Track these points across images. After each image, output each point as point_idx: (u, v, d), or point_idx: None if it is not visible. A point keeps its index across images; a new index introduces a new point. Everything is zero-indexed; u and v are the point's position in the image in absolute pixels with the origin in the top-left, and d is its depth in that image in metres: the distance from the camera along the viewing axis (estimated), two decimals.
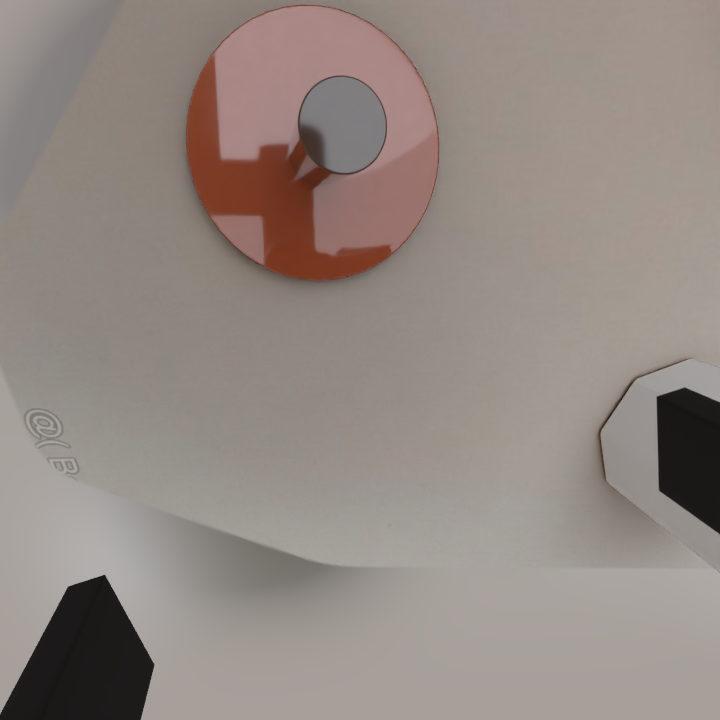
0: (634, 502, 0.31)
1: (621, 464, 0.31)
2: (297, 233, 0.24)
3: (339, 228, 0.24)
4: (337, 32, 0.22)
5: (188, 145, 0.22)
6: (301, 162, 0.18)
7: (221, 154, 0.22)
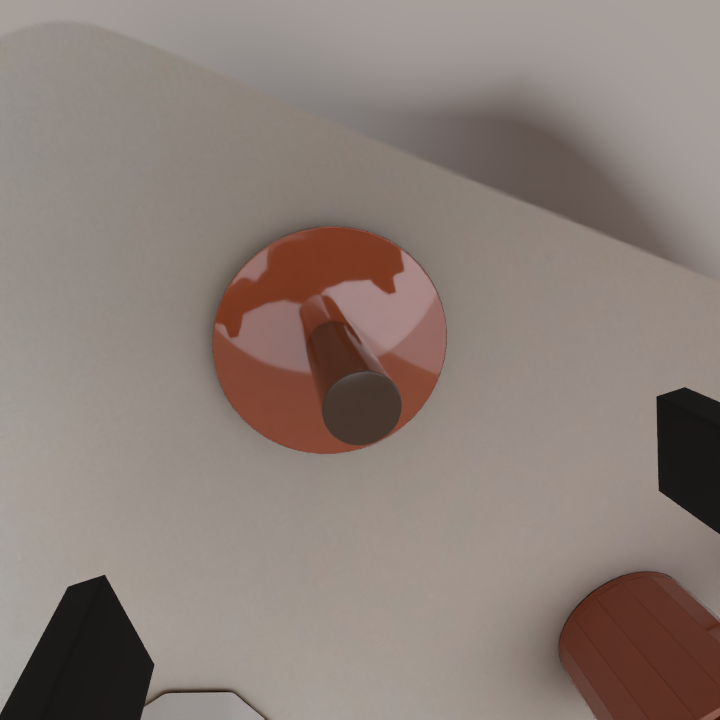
0: None
1: None
2: (257, 350, 0.24)
3: (276, 386, 0.25)
4: (430, 335, 0.25)
5: (303, 232, 0.23)
6: (322, 362, 0.19)
7: (305, 263, 0.23)
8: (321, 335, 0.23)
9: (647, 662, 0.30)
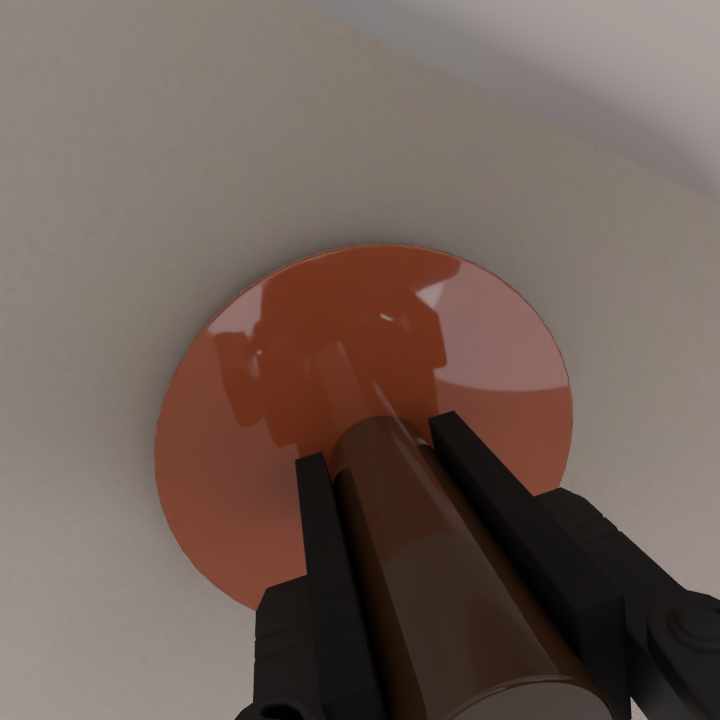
0: None
1: None
2: (240, 471, 0.13)
3: (274, 529, 0.14)
4: (545, 432, 0.14)
5: (326, 255, 0.12)
6: (380, 562, 0.08)
7: (330, 315, 0.12)
8: (362, 457, 0.12)
9: None
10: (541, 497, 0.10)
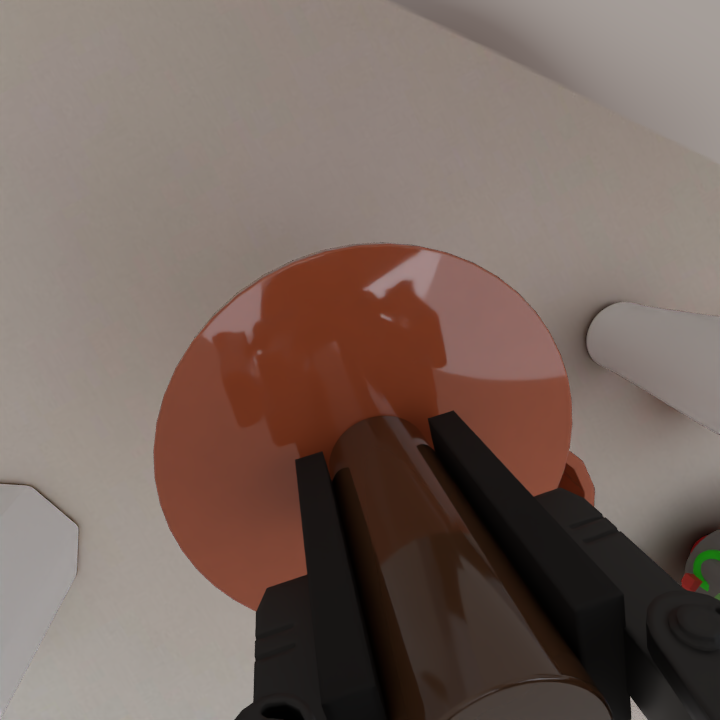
0: None
1: None
2: (240, 471, 0.13)
3: (274, 529, 0.14)
4: (545, 432, 0.14)
5: (326, 255, 0.12)
6: (379, 562, 0.08)
7: (329, 315, 0.12)
8: (362, 456, 0.12)
9: None
10: (541, 497, 0.10)
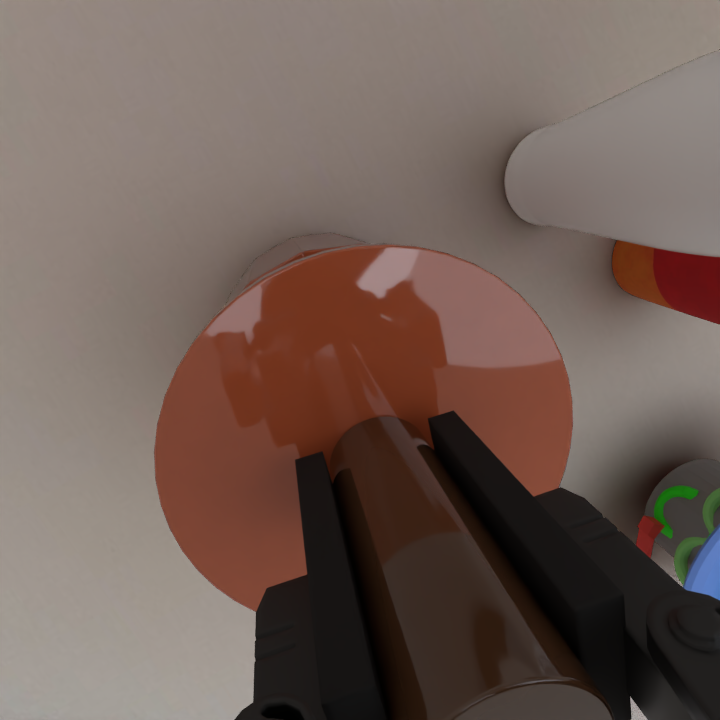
0: None
1: None
2: (240, 471, 0.13)
3: (274, 529, 0.14)
4: (545, 433, 0.14)
5: (326, 256, 0.12)
6: (380, 563, 0.08)
7: (330, 315, 0.12)
8: (362, 457, 0.12)
9: (250, 272, 0.20)
10: (541, 497, 0.10)
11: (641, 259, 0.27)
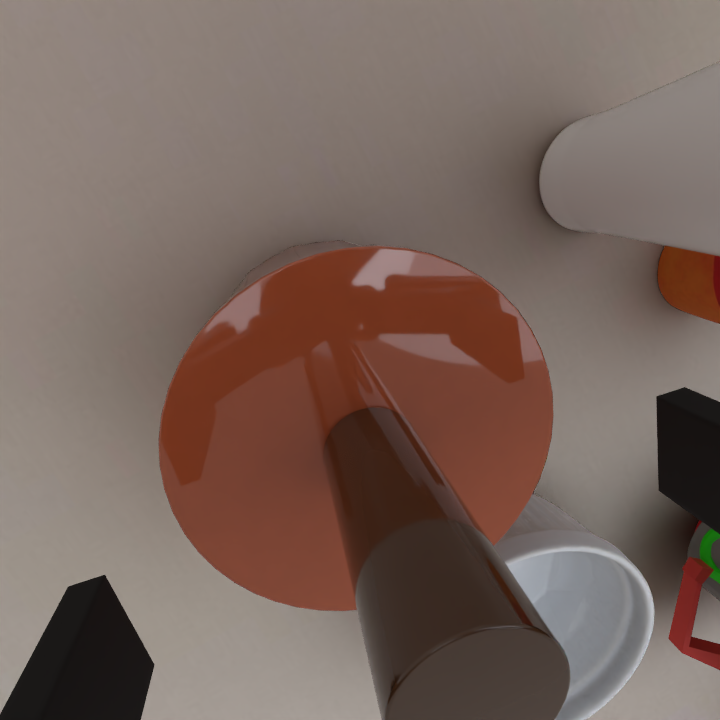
0: None
1: None
2: (239, 459, 0.14)
3: (271, 514, 0.15)
4: (527, 423, 0.15)
5: (319, 256, 0.12)
6: (366, 535, 0.09)
7: (323, 312, 0.13)
8: (353, 444, 0.12)
9: None
10: None
11: (697, 270, 0.23)
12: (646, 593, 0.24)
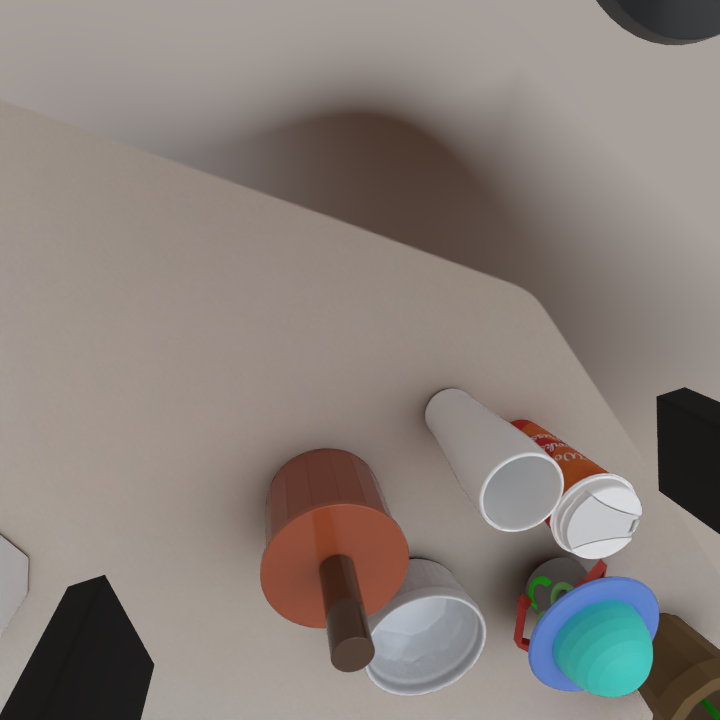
0: None
1: None
2: (288, 574, 0.38)
3: (299, 592, 0.39)
4: (398, 556, 0.39)
5: (317, 509, 0.37)
6: (330, 611, 0.33)
7: (318, 525, 0.37)
8: (328, 573, 0.37)
9: (286, 497, 0.41)
10: None
11: None
12: (479, 617, 0.48)
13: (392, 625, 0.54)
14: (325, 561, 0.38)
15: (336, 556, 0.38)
